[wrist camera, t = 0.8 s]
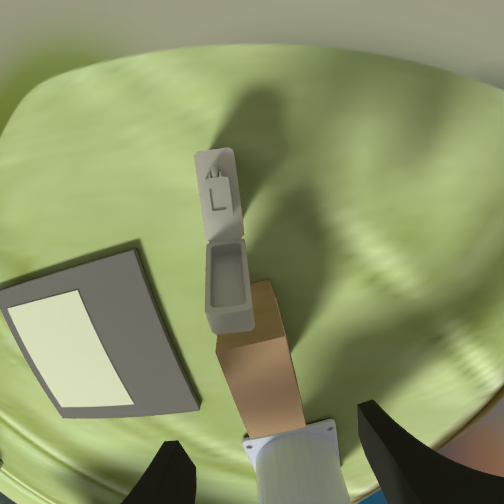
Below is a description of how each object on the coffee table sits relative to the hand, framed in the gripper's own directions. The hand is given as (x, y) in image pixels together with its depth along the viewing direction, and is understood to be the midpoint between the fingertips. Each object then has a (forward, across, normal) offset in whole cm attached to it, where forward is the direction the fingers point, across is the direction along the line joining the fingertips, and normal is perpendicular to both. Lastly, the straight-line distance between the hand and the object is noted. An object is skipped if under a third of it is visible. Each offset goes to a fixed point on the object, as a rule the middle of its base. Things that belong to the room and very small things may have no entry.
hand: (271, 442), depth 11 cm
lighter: (+10, 0, -7) cm, 13 cm away
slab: (+10, 0, 0) cm, 10 cm away
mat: (+10, +13, 0) cm, 16 cm away
